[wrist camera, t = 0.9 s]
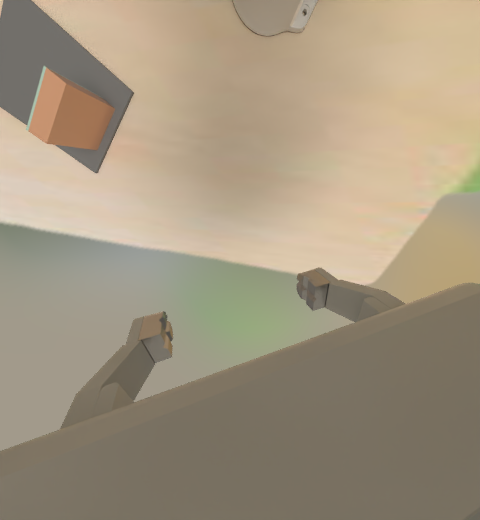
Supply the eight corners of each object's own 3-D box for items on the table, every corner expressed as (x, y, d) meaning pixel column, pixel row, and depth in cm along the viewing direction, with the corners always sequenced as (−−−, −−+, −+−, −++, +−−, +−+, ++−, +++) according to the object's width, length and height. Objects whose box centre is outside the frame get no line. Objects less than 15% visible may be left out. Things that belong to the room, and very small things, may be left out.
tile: (101, 97, 38) (43, 65, 26) (115, 108, 39) (66, 83, 27) (83, 140, 41) (26, 129, 29) (97, 150, 42) (46, 143, 30)
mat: (11, -18, 31) (7, -21, 30) (133, 92, 38) (132, 91, 37) (-11, 97, 37) (-15, 96, 37) (97, 173, 44) (95, 173, 44)
